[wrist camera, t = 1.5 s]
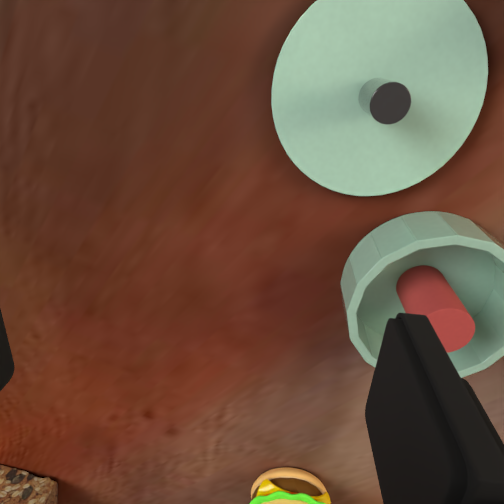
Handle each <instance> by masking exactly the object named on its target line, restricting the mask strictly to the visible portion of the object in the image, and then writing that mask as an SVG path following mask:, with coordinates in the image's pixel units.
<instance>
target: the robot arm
mask: <svg viewBox="0 0 504 504" xmlns="http://www.w3.org/2000/svg"><path fill="white" fill-rule="evenodd" d="M13 373H14V362H13V358H12V354H11V350H10V346H9V342H8V338H7V334H6V330H5V326H4V322H3V318H2V314H1V309H0V391H1V390H2V389H3V387H4V386H5V385H6V384H7V383H8V382H9V381H10V379H11V377H12V375H13ZM365 417H366V424H367V428H368V433H369V438H370V443H371V447H372V452H373V457H374V461H375V466H376V471H377V475H378V480H379V485H380V489H381V494H382V499H383V503H384V504H504V444H503V442H502V440H501V439H500V437H499V435H498V433H497V432H496V430H495V428H494V426H493V424H492V423H491V421H490V419H489V417H488V416H487V414H486V412H485V410H484V409H483V407H482V405H481V403H480V401H479V400H478V398H477V396H476V394H475V393H474V391H473V389H472V387H471V386H470V385H469V383H468V382H467V381H466V380H464V379H463V378H461V377H460V376H459V374H458V372H457V370H456V368H455V366H454V365H453V363H452V361H451V359H450V357H449V356H448V354H447V352H446V350H445V348H444V346H443V345H442V343H441V341H440V339H439V337H438V335H437V334H436V332H435V330H434V328H433V326H432V325H431V323H430V321H429V319H428V318H427V316H426V315H420V314H410V313H398V314H397V316H396V318H389V319H388V321H387V324H386V328H385V332H384V336H383V340H382V344H381V347H380V351H379V355H378V359H377V363H376V367H375V371H374V375H373V379H372V383H371V387H370V391H369V395H368V399H367V403H366V409H365Z"/></svg>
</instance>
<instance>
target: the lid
mask: <svg viewBox="0 0 504 504" xmlns="http://www.w3.org/2000/svg"><path fill="white" fill-rule="evenodd" d="M487 79H488V56H487V50H486V44H485V40H484V37H483V34H482V30H481V28H480V26H479V24H478V21H477V19H476V17H475V15H474V14H473V12H472V11H471V9H470V8H469V7H468V5H467V4H466V2H465V1H464V0H317V1H316V2H314V3H313V4H312V5H311V6H310V7H309V8H308V9H307V10H306V12H305V13H304V14H303V15H302V16H301V17H300V18H299V20H298V21H297V23H296V24H295V26H294V27H293V28H292V30H291V31H290V33H289V35H288V37H287V39H286V41H285V43H284V44H283V47H282V49H281V52H280V54H279V57H278V59H277V63H276V67H275V71H274V75H273V82H272V97H271V104H272V113H273V119H274V124H275V128H276V131H277V134H278V137H279V139H280V142H281V144H282V146H283V147H284V149H285V151H286V153H287V155H288V156H289V157H290V159H291V160H292V161H293V163H294V164H295V165H296V166H297V167H298V168H299V169H300V170H301V171H302V172H303V173H304V174H305V175H306V176H308V177H309V178H310V179H311V180H313V181H315V182H316V183H318V184H320V185H321V186H323V187H326V188H328V189H330V190H332V191H336V192H339V193H343V194H347V195H354V196H377V195H384V194H389V193H393V192H397V191H400V190H403V189H405V188H408V187H410V186H412V185H414V184H416V183H419V182H420V181H422V180H424V179H425V178H427V177H429V176H430V175H432V174H433V173H434V172H436V171H437V170H438V169H439V168H441V167H442V166H443V165H444V164H445V163H446V162H447V161H448V160H449V159H450V158H451V157H452V156H453V155H454V154H455V153H456V152H457V150H458V149H459V148H460V147H461V146H462V144H463V143H464V141H465V140H466V138H467V137H468V135H469V134H470V132H471V130H472V128H473V126H474V124H475V122H476V120H477V118H478V116H479V113H480V110H481V108H482V105H483V101H484V97H485V93H486V88H487Z"/></svg>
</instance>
